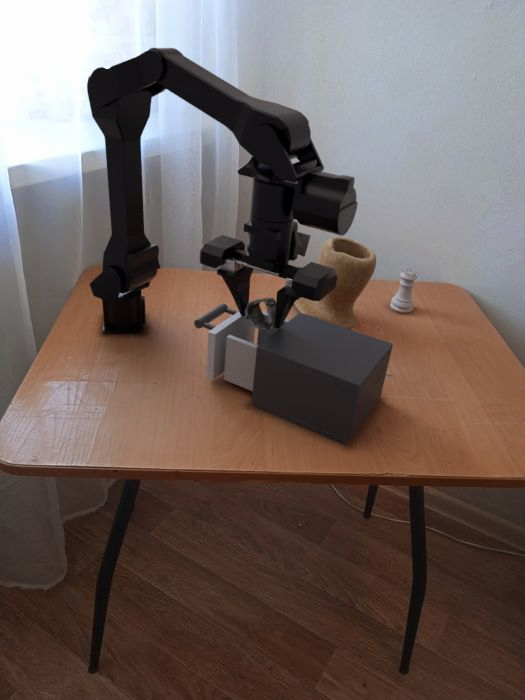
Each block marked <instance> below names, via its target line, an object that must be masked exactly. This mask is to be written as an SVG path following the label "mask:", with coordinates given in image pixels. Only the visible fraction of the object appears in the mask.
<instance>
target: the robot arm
mask: <svg viewBox="0 0 525 700" xmlns="http://www.w3.org/2000/svg"><path fill="white" fill-rule="evenodd" d="M86 81H87V82H86V91H87V97H88V102H89V107H90V111H91V117H92V118H93V120H94V122H95V124H96V125H97V126H98V128H99V130H100V131H101V133H102V135H103V136H104V137H103V138H104V145H105V160H106V175H107V187H108V189H107V190H108V202H109V203H108V204H109V215H110V216H109V217H110V229H111V231H110V232H111V234H110V237H109V239H108V241H107V244H106V246H105V249H104V251H103V254H102V267H101V268H102V269H101V272H100V273H99V274H98V275H97V276H96V277H95V278H94V279H92V281H91V282H90V283H89V287H90V290H91V294H92V295H93V297H96V298H98V299H101V304H102V315H103V316H102V317H103V322H102V323H103V324H102V333H104V334H121V333H122V334H131V333H134V334H135V333H136V334H137V333H138V334H139V333H140V334H141V333H143V332H144V325H146V323H147V322H146V321H147V318H146V317H147V316H146V315H147V314H146V296H145V295H142V290H144V289H147V288H149V287H150V285H151V283H152V281H153V279H155V278H156V276H157V274H158V270H159V269H161V265H160V261H159V254H160V248H159V245H158V244H152V243H151V241H150V239H149V238H148V237H147V235H146V233H145V216H144V214H145V213H144V212H145V211H144V191H143V189H144V188H143V163H142V141H141V140H142V135H143V132H144V130H145V128H146V126H147V124H148V121H149V119H150V116H151V107H152V99H153V98H154V97H155V96H157V95H160V94H162V93H163V92H165V91H166V90H167V91H168V92H170V93H172V94H174V95H175V96H177V97H179V98H180V99H181V100H183V101H185V102H186V103H188V104H189V105H190V106H193V107H194V108H196V109H197V110H199V111H201V112H202V113H204V114H205V115H207V116H209V117H210V118H211V119H213V120H214V121H216V122H218V123H220V124H222V125H223V126H225V127H226V128H227V129H228V130H229V131H230V132H231V133H232V135H234V138H235V139H236V141H237V143H238V144H239V146H240V147H241V148H242V149H244V151H245V152H247V153H248V154H249V155H250V156H251V157H249V159H248V161H247V162H246V163H245V164H244V165H242V166H240V167H239V168H237V174H238V175H239V176H242V177H243V176H244V177H248V178H250V179H251V178H252V183H251V185H252V186H251V197H250V210H249V221H247V222H245V223H244V224H243V232H245V233H248V234H247V247H246V244H245V242H244V241H243V240H240V239H238V238H234V237H231V236H227V235H224V234H222V235H220V236H218V237H216V238H213V239H211V240H209V241H207V242H205V243H203V244H202V246H201V248H200V250H199V263H200V264H201V265H203V266H206V267H209V268H213V269H216V275H217V276H221V278H222V280H223V281H224V283H225V285H226V286H227V289H228V290H229V292H230V294H231V297H232V298H233V301H234V303H235V306H236V307H237V311H238V312H240V314H241V316H245V308H246V307H247V305H248V304H249V303H250V288H251V278H252V274H253V272H254V270H257V271H260V272H263V273H266V274H269V275H271V276H275V277H278V278H281V279H285V285H284V286H283V287H281V288H279V289H278V290H277V291H276V297H275V299H276V300H275V301H276V315H275V325H276V328H277V329H279V328H280V327H281V326H282V325H283V323H284V321H285V319H286V320H287V317H288V315H289V313H290V312H291V310H292V308H293V306H294V303H295V301H296V300H298V299H300V298H301V297H303V298H306V299H309V300H312V301H320V300H321V299H322V298H324V297H325V296H326V295H327V294H329V293H330V292H331V291H332V290H334V289H335V288H336V283H337V274H336V272H335V270H334V269H333V268H330V267H327V266H324V265H320V264H318V262H314V261H310V262H309V263H307V264H306V265H304V266H303V267H299V266H296V265H295V266H294V265H292V264H289V262H290V261H292V262H294V261H296V260H298V256H301V257H302V258H303V257H305V256H306V253H307V250H308V247H309V242H310V239H311V235H310V234H307V233H304V232H300V231H298V229H299V225H300V226H305V227H309V228H312V229H316V230H319V231H323V232H326V233H330V234H334V235H338V236H340V237H343V236H345V235H346V234H347V233H348V232H349V230H350V229H351V227H352V224H353V222H354V220H355V216H356V213H357V209H358V203H359V202H358V201H357V190H356V188H355V187H354V186H355V181H356V179H355V177H354V176H351V175H345V174H342V175H341V174H340V175H339V174H334V173H330V172H325V171H324V170H325V166H324V164H323V161H322V160H321V158H320V155H319V153H318V151H317V149H316V146H315V144H314V142H313V140H312V137H311V136H312V133H311V132H312V131H311V128H310V124H309V123H310V120H309V119H308V118H307V116H306V115H304V114H303V113H302V112H301V111H299V110H297V109H295V108H291V107H288V106H286V105H283V104H280V103H277V102H273V101H268V100H264V99H260V98H258V97H257V98H256V97H253V96H251V95H249V94H247V93H246V92H244V91H242V90H241V89H240V88H237V87H236V86H234V85H233V84H231V83H229V82H228V81H226V80H224V79H223V78H221V77H219V76H218V75H216V74H214V73H213V72H211V71H210V70H208V69H206V68H205V67H203V66H201V65H200V64H199V63H197V62H195V61H193V60H191V59H190V58H188V57H187V56H185V55H184V54H183V53H182V52H181V51H180V50H178V49H177V48H174V47H150V48H148V49H147V50H146V51H143V52H142V53H140V54H139V55H137V56H135V57H132V58H130V59H127V60H124V61H122V62H119V63H116V64H113V65H111V66H102V67H97V68H95V69H94V70H93V71H92V73H91V74H90V75H89V76H88V77H87V80H86ZM293 159H297V160H298V161H297V162H292V160H293ZM295 220H296V221H295ZM298 224H299V225H298Z"/></svg>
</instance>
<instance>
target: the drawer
mask: <svg viewBox="0 0 525 700" xmlns="http://www.w3.org/2000/svg"><path fill="white" fill-rule="evenodd" d="M261 311H262V313H263V315H264V317H265V319H266V321H267V322H268V313H267V311H263V310H261ZM225 313H226V314H229V315H231V316H229V317H228V318H227V319H225V320H224V321H222V322H221V323H219V324H217V325H214V324H211V323H212V322H213V321H215V320H216V319H217V318H219V317H221V316H222V315H223V314H225ZM288 321H290V320H289V319H287V318H286V319H285V321H284V323H283V325H285V324H286V323H287V322H288ZM268 323H269V322H268ZM193 324H194V327H195V328H196V329H202V328H204V329H206V330H209V331H208V333H207V354H206V355H207V357H206V379H209V380H211V381H215V379H217V378H218V377H220V376H221V375H223V380H224V381H226V382H229V383H231V384H234V385H236V386H238V387H241V388H243V389H245V390H248V391H250V392H253V382H254V372H255V361H256V350H257V346H258V345H260V344H261V343H262V342H263V341H265V340H266V339H267V338H268V337H270V336H271V335H272V334H273V333H275V332H276V331H277V330H278V329H275V330H272V331H269V332H268V330H265V329H263V330H260V329H258V330H257V340H256V341H257V342H256V343H255V337H256V335H255V334H256V328H255V326H252V325H250V323H249V322H248V320H247V319H246V315H245V316H241V314H240V312H239V310H235V309H232V308H229V307H228V305H227V304H226V303H224V302H223V303H221V304H219V305H218V306H216V307H214V308H213V309H211V310H209V311H208V312H206V313H205V314H203V315H201V316H200V317H198V318H197V319H195V320H194V321H193ZM283 325H282V326H283ZM282 326H281V327H282ZM281 327H280V328H281ZM280 328H279V329H280Z"/></svg>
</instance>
